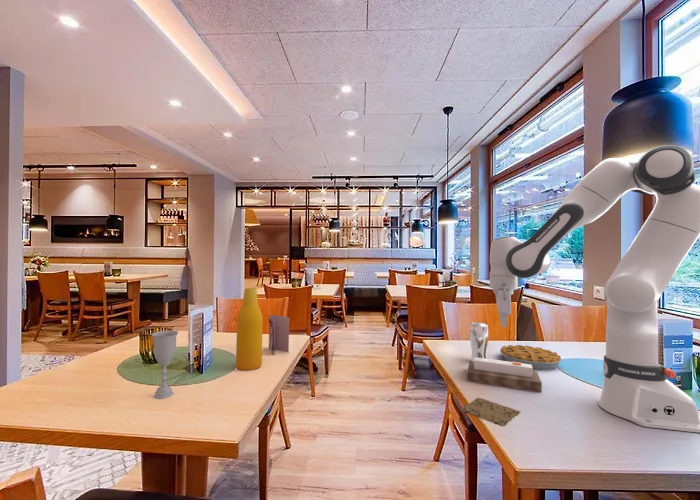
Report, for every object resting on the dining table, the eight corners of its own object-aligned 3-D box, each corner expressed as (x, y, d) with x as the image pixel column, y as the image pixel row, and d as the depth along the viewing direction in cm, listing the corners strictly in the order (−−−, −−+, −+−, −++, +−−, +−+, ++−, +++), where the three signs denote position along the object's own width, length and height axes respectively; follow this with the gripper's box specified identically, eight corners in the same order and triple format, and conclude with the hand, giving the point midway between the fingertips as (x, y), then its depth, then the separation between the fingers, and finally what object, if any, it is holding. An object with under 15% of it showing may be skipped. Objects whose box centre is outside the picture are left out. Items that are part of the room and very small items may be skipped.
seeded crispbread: (521, 413, 90) (521, 409, 90) (503, 428, 82) (504, 424, 82) (479, 398, 99) (479, 395, 99) (459, 411, 90) (459, 408, 90)
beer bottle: (230, 369, 118) (232, 288, 119) (244, 361, 127) (246, 286, 128) (253, 372, 116) (255, 289, 116) (266, 363, 125) (268, 287, 125)
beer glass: (484, 359, 136) (485, 322, 136) (490, 364, 129) (490, 326, 129) (467, 358, 136) (468, 322, 137) (472, 363, 129) (472, 325, 130)
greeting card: (266, 348, 145) (267, 314, 145) (283, 346, 148) (284, 313, 149) (271, 355, 135) (272, 319, 135) (289, 353, 138) (290, 318, 138)
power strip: (531, 380, 111) (531, 362, 111) (532, 385, 108) (532, 366, 108) (474, 372, 118) (474, 355, 118) (473, 376, 115) (474, 358, 115)
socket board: (536, 379, 114) (536, 370, 114) (541, 392, 103) (541, 382, 103) (469, 369, 123) (469, 361, 123) (467, 380, 112) (467, 371, 112)
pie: (572, 373, 121) (572, 360, 121) (509, 369, 125) (509, 356, 125) (547, 355, 142) (547, 344, 143) (493, 352, 146) (493, 341, 146)
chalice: (152, 391, 98) (154, 331, 99) (178, 388, 101) (179, 329, 101) (147, 401, 92) (149, 337, 92) (174, 398, 94) (176, 335, 94)
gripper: (515, 286, 103) (515, 330, 103) (511, 282, 122) (511, 319, 121) (493, 285, 105) (493, 328, 105) (493, 281, 124) (492, 318, 124)
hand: (503, 323), depth 113 cm, fingers open, 8 cm apart
